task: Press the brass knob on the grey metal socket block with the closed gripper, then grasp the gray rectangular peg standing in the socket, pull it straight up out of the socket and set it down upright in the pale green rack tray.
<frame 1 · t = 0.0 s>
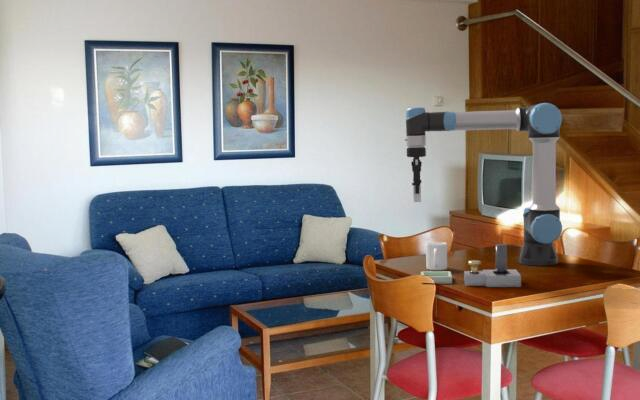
hand: (417, 200, 304), 28 cm above the table, fingers open, 13 cm apart
gray rectangular peg: (501, 264, 274), in the socket block
brass knob: (474, 268, 275), point 6 cm above the table, slide at 0.0 cm
socket block: (501, 283, 275), on the table
rack tray: (436, 280, 283), on the table
mug: (436, 270, 306), on the table
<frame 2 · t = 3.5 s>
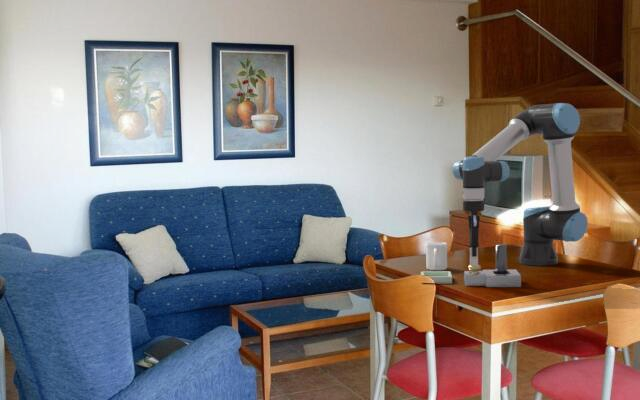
hand: (473, 265, 275), 7 cm above the table, fingers closed
brass knob: (474, 272, 275), point 4 cm above the table, slide at 1.6 cm, touching gripper
everything else where it was.
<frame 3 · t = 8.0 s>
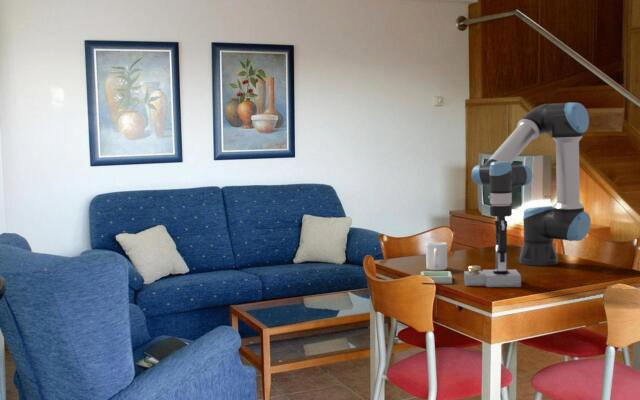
hand: (501, 269, 274), 5 cm above the table, fingers closed on gray rectangular peg, 4 cm apart
gray rectangular peg: (501, 264, 274), in the socket block, touching gripper
brass knob: (474, 273, 275), point 4 cm above the table, slide at 2.0 cm
everything else where it was.
when the fingers open (7 cm above the table, at t = 14.4 s): gray rectangular peg stays where it is, resting on rack tray.
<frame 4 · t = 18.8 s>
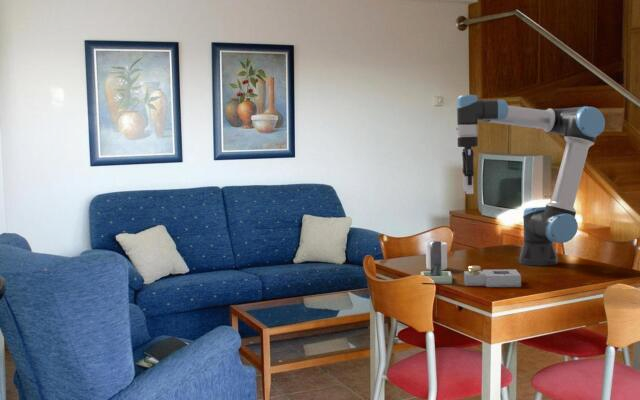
hand: (468, 192, 290), 32 cm above the table, fingers open, 13 cm apart
gray rectangular peg: (435, 260, 283), in the rack tray, point 8 cm above the table
everything else where it was.
at the end: gray rectangular peg inside the target area on the rack tray (0.1 cm from its centre), point 7.6 cm above the rack tray's base; gray rectangular peg tilted 1°; brass knob slide at 2.0 cm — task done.
